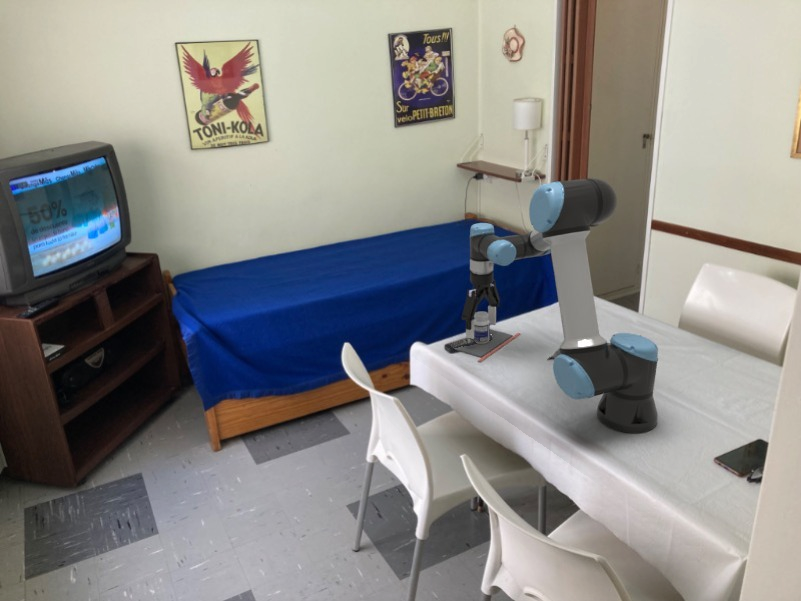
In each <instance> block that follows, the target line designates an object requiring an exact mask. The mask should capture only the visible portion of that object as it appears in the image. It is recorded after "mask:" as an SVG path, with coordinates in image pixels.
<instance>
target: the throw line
mask: <svg viewBox="0 0 801 601" xmlns="http://www.w3.org/2000/svg"><path fill="white" fill-rule="evenodd" d="M521 334H522V333H520V332H517V333H516V334H514V335H513V336H512V337H511V338H510V339H508V340H507V341H505V342H504V343H502V344H501V345H499V346H498V347H496V348H495V349H494V350H492V351H491V352H489V353H488V354H486V355H485V356H483V357H482V358H479V359H478V360H477V363H482V362H483V361H484V360H486V359H488V358H489V357H491V356H492V355H494V354H495V353H496V352H498V351H499V350H500V349H502V348H503V347H505V346H507V345H508V344H509V343H510V342H512V341H514V340H515V339H516V338H518V337H519V336H521Z"/></svg>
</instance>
